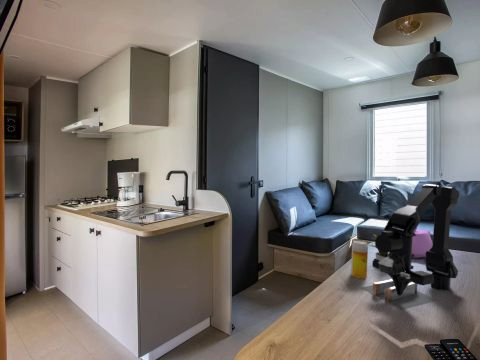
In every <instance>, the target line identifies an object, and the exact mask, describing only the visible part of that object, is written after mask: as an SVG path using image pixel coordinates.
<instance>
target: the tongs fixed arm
mask: <svg viewBox="0 0 480 360" xmlns="http://www.w3.org/2000/svg"><path fill="white" fill-rule="evenodd" d="M372 285H373V296H374V295H375V296H374V297H376V295H380V294H384V293H385V289H386V288H390V287H394V286H395V285H394V282H393V280H392V278H390V279H386V280H382V281H381V280H380V281H376V282H373V283H372Z"/></svg>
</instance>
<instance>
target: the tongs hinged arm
mask: <svg viewBox="0 0 480 360" xmlns="http://www.w3.org/2000/svg"><path fill="white" fill-rule="evenodd" d="M417 291H418V284H416V283H414V282H412V281H411V282H410V283H409V284H408V285H407V287H406V288H405V290H404V292H403V293H402V295H400V296H399V295H398V294H397V291H396V288H395V286H394V287H390V288H386V289H385V301H384V302H386V301H387V302H390V301H392V300H396V299H400V298H403V297H407V296H410V295H414V294H415V292H417ZM387 302H386V303H387Z"/></svg>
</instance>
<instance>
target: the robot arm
mask: <svg viewBox="0 0 480 360" xmlns="http://www.w3.org/2000/svg"><path fill="white" fill-rule="evenodd" d="M459 198H460V191H459V190H458V189H457V188H456V187H455V186H446V185H439V184H432V183H430V184H429V183H426V184H423V185H422V187H421V190H419V192H417V194H415V196H414V197H413V199H412V200H411V201H410V202H409V203H408V204H407V205H405V206H403V207H401V208H398V209H397V210H395V211H394V212H393V213H392V214H391V216H390V218H389V219H388V221H387V222H386V224H385V227H384V228H383V230H381V232H380V234H379V235H376V236H377V238H376V237H375V240H374V245H376V249H377V251H378V250H379V251H380V252H382V253H387V252H388V254H389V256H388V257H386V258H376V257H375V258H374V259H373V260H372V264H371V265H372V267H373V268H376V269H379V271H380V272H381V273H385V274H386V275H388V276H389V277H390V279H392V280H393V282H394V285H395V288H396V291H397V294H398V295H399V296H400V295H402V293H403V292H404V290H405V288H406V287H407V285H408V284H409V283H410V282H411V281H412V282H414V283H416V284H417V285H420V286H427V285H430V288H432V289H435V290H437V291H449V290H450V289H451V279H457V277H458V275H459V270H458V268H457V266H456V265H455V264H454V256H453V254H452V253H451V250H450V249H449V245H450V244H449V243H450V241H449V240H450V231H451V230H450V229H451V215H452V214H451V213H452V210H454V207H456V205H458V200H459ZM430 205H432V206H433V209H434V219H433V231H432V232H433V235H432V244H433V245H432V248H431V249H430V250H429V251H427V252H426V257H424V263H425V269H426V271H424V270H417V271H413V270H414V267H415V266H414V265H412V258H411V257H414V254H413V253H412V238H413V236H416V234H415V233H414V232H413V231H414V230H415V229H416V228H417V229H418V226H419V225H420V224H421V223H420V222H421V220H420V217H421V215H422V214H423V213H424V212H425V210H427V208H428V207H429V206H430ZM392 227H394V228H392ZM396 228H397V229H396ZM401 229H402V230H401ZM379 251H378V252H379ZM429 272H430V273H429Z"/></svg>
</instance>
